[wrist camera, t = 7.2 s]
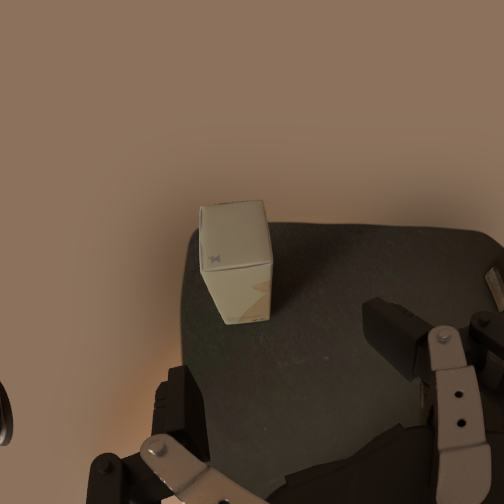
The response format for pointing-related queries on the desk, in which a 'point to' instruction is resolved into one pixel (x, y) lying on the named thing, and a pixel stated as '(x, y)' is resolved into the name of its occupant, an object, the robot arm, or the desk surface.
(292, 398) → the desk surface
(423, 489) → the robot arm
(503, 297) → the block
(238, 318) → the box
